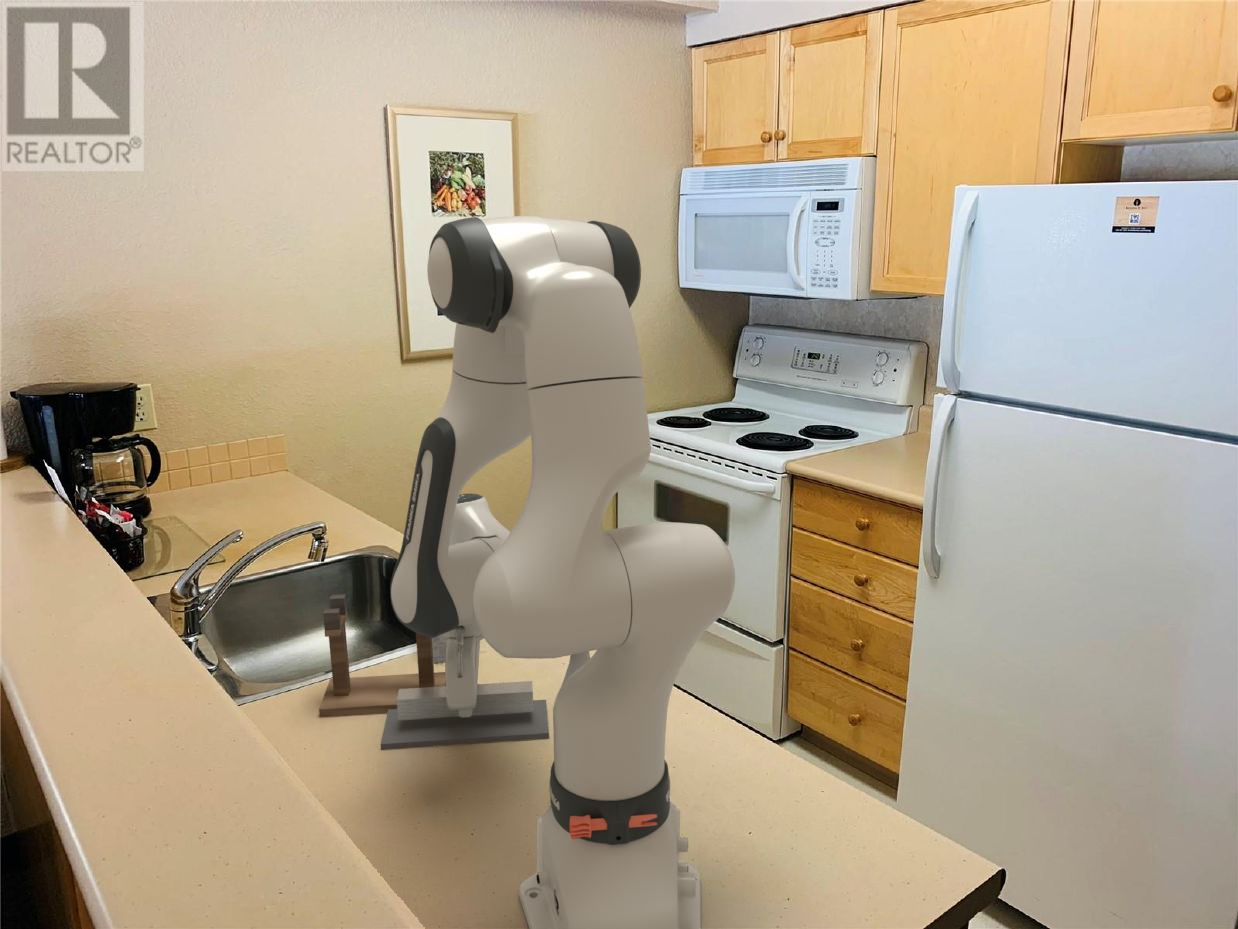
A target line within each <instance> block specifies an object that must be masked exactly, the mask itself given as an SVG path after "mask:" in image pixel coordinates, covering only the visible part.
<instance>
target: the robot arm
mask: <svg viewBox="0 0 1238 929" xmlns="http://www.w3.org/2000/svg"><path fill="white" fill-rule="evenodd" d="M431 240H432V241H431V243H430V247H429V251H428V252H429V253H428V259H427V266H426V267H427V270H426V271H427V281H428V286H429V290H430V293H431V298H432V301H433V303H434V305H435V307H436V308H437V310H438V311H439V312H440V313H441V314H442V315H444V317H446V318H447V319H448V320H449V321H450V322H452V323H455V330H454V337H453V338H454V340H453V347H452V349H453V350H452V368H451V369H452V371H451V372H452V373H451V380H450V381H451V382H450V386H449V389H448V393H447V396H446V399H445V401H444V403H443V405H442V408H441V409H440V412H439V413H438V415H437V416H436V418H435V419H434V420H432V422H431V423H430V424H429V425H428V426H426V428H425V430H424V431H423V434H422V437H421V440H420V444H419V445H420V446H419V447H418V448H419V449H418V453H417V456H416V457H417V459H416V462H415V467H414V474H413V479H412V484H411V492H410V497H409V502H408V508H407V509H408V510H407V513H406V520H405V526H404V532H403V539H402V542H401V543H402V544H401V548H400V551H399V555H398V558H397V560H396V562H395V566H394V569H393V572H392V575H391V578H390V586H389V589H390V590H389V594H390V602H391V603H390V604H391V607H392V610H393V612H394V615H395V617H396V619H397V620H398V621H399V622H400V623H401V624H402V625H403V626H405V627H406V628H407V629H409V630H411V631H413V633H415V634H416V633H418V634H421V635H423V636H426V637H429V638H434V637H437V636H439V639H440V640H441V641H442V642H444V643H446V644H447V648H446V656H445V662H444V665H445V666H444V669H445V670H444V672H445V675H446V699H447V706H448V708H449V710H458V711H459V716H460V717H471V716H472V710H473V709H474V708H475V707H476V701H477V684H479V682H478V680H479V668H480V667H479V666H480V665H479V664H480V662H479V661H480V647H481V644H480V643H481V641H482V640H485V642H486V643H487V644H488V646H490V647H491V648H492V649H493V650H494V651H495V652H497V653H498V655H500V656H502V657H503V658H506V659H528V660H529V659H530V660H531V659H533V660H535V659H536V660H537V659H540V660H541V659H542V660H543V659H557V658H562V657H568V656H570V655H573V654H578V653H583V652H588V651H589V652H592V651H595V652H594V653H593V654H592V656H590V660H589V661H587V662H586V663H585V664H584V665H583V666H582V667H581V668H579V669H578V670H577V671H576V672H574V673H573V674H572V675H571V676H570V677H569V678H568V679H567V680H566V681H565V682H564V684H563V685H562V684H561V685H562V687H561V686H560V688H559V691H558V692H557V695H556V697H555V700H554V703H553V708H552V720H553V721H552V724H553V726H552V727H553V758H554V759H553V760H554V761H553V762H552V764H551V766H550V773H549V774H550V776H549V781H548V783H549V784H548V788H549V796H550V805H549V807H548V808H547V809H546V811H545V812H543V814H542V815H540V817H539V818H538V819H537V820H536V873H534V874H532V875H530V876H529V877H527V878H525V879H524V880H523V881H522V882H521V883H520V885H519V893H518V894H519V896H518V897H519V900H520V903H521V907H522V909H523V912H524V916H525V919H526V922H527V924H528V928H529V929H702V906H701V905H702V902H701V901H702V900H701V899H702V895H701V894H702V893H701V892H702V891H701V887H702V886H701V885H702V884H701V883H702V882H701V875H700V871H699V869H698V868H697V867H695V866H694V865H692V864H689V863H687V862H684V861H681V860H680V853H687V852H688V851H689V840H688V837H686V836H681V809H680V808H679V807H678V806H677V805H675V804H674V803H673V802H671V799H670V798H671V779H670V778H671V777H670V775H669V773H670V772H669V765H668V763H667V761H666V760H665V759H666V758H665V755H666V732H667V720H668V719H667V718H668V707H669V702H670V697H671V694H672V690H673V688H674V684H675V682H676V680H677V677H678V676H679V675H678V674H679V673H680V670H681V668H682V666H684V665H683V664H684V662H685V661H686V658H688V655H690V652H691V651H692V649H693V647H694V646H695V644H696V643H697V641H698V640H699V639H700V638H701V636H702V635H703V634H704V633H705V632H706V631H707V630H708V629H709V627H711V625H713V624H714V623H715V622H716V621H717V620H719V618H720V617H722V616H723V615H724V614H725V612H726V611H727V609H728V608H729V605H730V604H731V601H732V598H733V595H734V591H735V585H736V571H735V565H734V561H733V557H732V554H731V552H730V550H729V548H728V546H727V545H726V543H725V542H724V541H723V539H722V538H721V536H720V535H719V534H718V533H716V531H714V529H712V528H711V527H709V526H708V525H705V524H699V523H687V522H677V521H676V522H675V521H674V522H671V521H658V522H652V523H644V524H640V525H639V524H638V525H631V526H625V527H619V528H612V529H605V530H604V527H603V526H604V519H605V514H606V510H607V508H608V505H609V504H610V502H611V500H612V499H613V497H614V496H615V494H617V493H619V492H620V491H621V490H622V489H624V488H626V487H627V486H628V485H630V484H631V483H632V482H634V480H636V479H637V478H638V477H639V476H640V474H642V472H643V471H644V469H645V467H646V466H647V464H648V462H649V459H650V455H651V452H652V451H651V450H652V447H651V436H650V429H649V428H650V426H649V418H648V417H649V416H648V408H647V399H646V392H645V389H646V388H645V382H644V374H643V373H644V372H643V367H642V359H641V353H640V347H639V341H638V336H637V332H636V329H635V328H636V327H635V325H634V324H635V323H634V321H633V318H632V317H633V316H632V313H631V309H630V308H631V307H632V305H633V304H634V302H635V300H636V299H637V297H638V294H639V291H640V286H641V280H642V279H641V278H642V265H641V259H640V254H639V252H638V251H639V250H638V249H637V247H636V245H635V242H634V241H633V239H632V237H631V235H630V234H629V233H628V232H627V231H626V230H625V229H623V228H621V227H619V226H617V225H614V224H611V223H606V222H602V221H598V220H589V221H587V222H584V221H577V220H571V219H570V220H569V219H561V218H553V217H552V218H548V217H546V218H545V217H540V216H538V215H515V216H502V217H501V216H500V217H492V218H484V219H480V218H479V217H477V216H472V217H465V218H460V219H456V220H452V221H450V222H447V223H444V224H443V225H442V226H441V227H440V228H439V229H438V231H437V232H436V234H435V235H434V236H433V238H432V239H431ZM529 438H530V439H531V477H530V484H529V489H528V491H527V496H526V500H525V503H524V505H523V508H522V510H521V513H520V515H519V517H518V519H517V520H516V523H515V525H514V527H513V528H512V530H511V531H510V530H509V529H508V528H506V527H505V526H504V525H503V524H502V523H500V522H499V521H498V520H497V519H496V517H495V516H494V515H493V513H492V511H491V509H490V506H489V503H488V500H487V499H486V497H484V496H483V495H480V494H477V493H461V491H462V490H463V489H464V487H465V486H466V484H467V483H468V481H469V480H471V478H472V477H474V475H475V474H476V473H478V472H479V471H480V470H481V469H483V468H485V466H487V465H488V464H490V463H492V462H493V461H495V460H496V459H498V458H499V457H501V456H502V455H504V454H506V453H508V452H510V451H511V450H514V449H516V448H517V447H518V446H520V445H522V444H523V443H524V442H525V441H527V440H528V439H529Z"/></svg>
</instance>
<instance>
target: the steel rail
mask: <svg viewBox="0 0 1238 929" xmlns="http://www.w3.org/2000/svg"><path fill="white" fill-rule="evenodd" d="M533 691H534V690H533V680H528V681H527V680H526V681H525V680H524V681H523V680H522V681H511V682H509V681H508V682H498V683H497V682H496V683H478V684H477V701H476V707H475V708H474V709H473V710H472V715H488V714H503V713H519V712H533V700H534V692H533ZM397 711H398V720H410V719H426V718H441V717H457V716H459V711H458V710H449V708H448V706H447V699H446V686H442V687H425V688H409V689H399V692H398V696H397Z"/></svg>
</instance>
